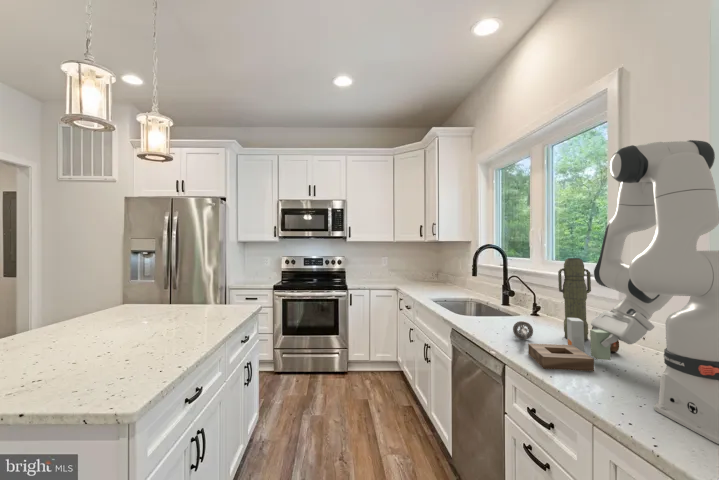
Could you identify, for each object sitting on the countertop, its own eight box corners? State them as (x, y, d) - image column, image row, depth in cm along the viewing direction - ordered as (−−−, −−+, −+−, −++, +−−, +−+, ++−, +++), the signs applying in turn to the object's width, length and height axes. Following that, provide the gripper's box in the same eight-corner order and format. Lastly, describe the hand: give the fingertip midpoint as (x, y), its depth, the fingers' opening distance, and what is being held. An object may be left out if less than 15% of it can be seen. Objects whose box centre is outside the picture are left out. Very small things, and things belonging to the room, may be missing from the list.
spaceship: (510, 329, 128) (531, 323, 125) (509, 320, 159) (525, 315, 157) (519, 349, 125) (540, 343, 123) (516, 336, 157) (533, 331, 154)
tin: (620, 354, 120) (619, 332, 120) (610, 354, 120) (610, 331, 120) (599, 343, 134) (598, 322, 134) (590, 342, 135) (590, 322, 135)
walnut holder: (594, 371, 104) (593, 358, 104) (543, 368, 107) (543, 356, 107) (572, 355, 119) (571, 345, 119) (528, 354, 121) (528, 343, 122)
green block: (610, 359, 108) (609, 332, 108) (597, 359, 109) (596, 332, 109) (603, 356, 112) (602, 329, 112) (591, 355, 113) (590, 329, 113)
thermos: (596, 341, 136) (593, 258, 137) (564, 340, 139) (562, 258, 140) (587, 336, 145) (584, 257, 145) (557, 334, 147) (555, 258, 148)
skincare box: (567, 347, 129) (566, 317, 129) (579, 348, 128) (578, 317, 128) (572, 352, 123) (571, 320, 123) (585, 353, 122) (584, 321, 122)
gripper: (604, 303, 120) (576, 329, 121) (641, 313, 100) (607, 344, 101) (618, 315, 119) (589, 341, 120) (658, 328, 99) (624, 359, 100)
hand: (597, 343), depth 111 cm, fingers closed on green block, 4 cm apart
